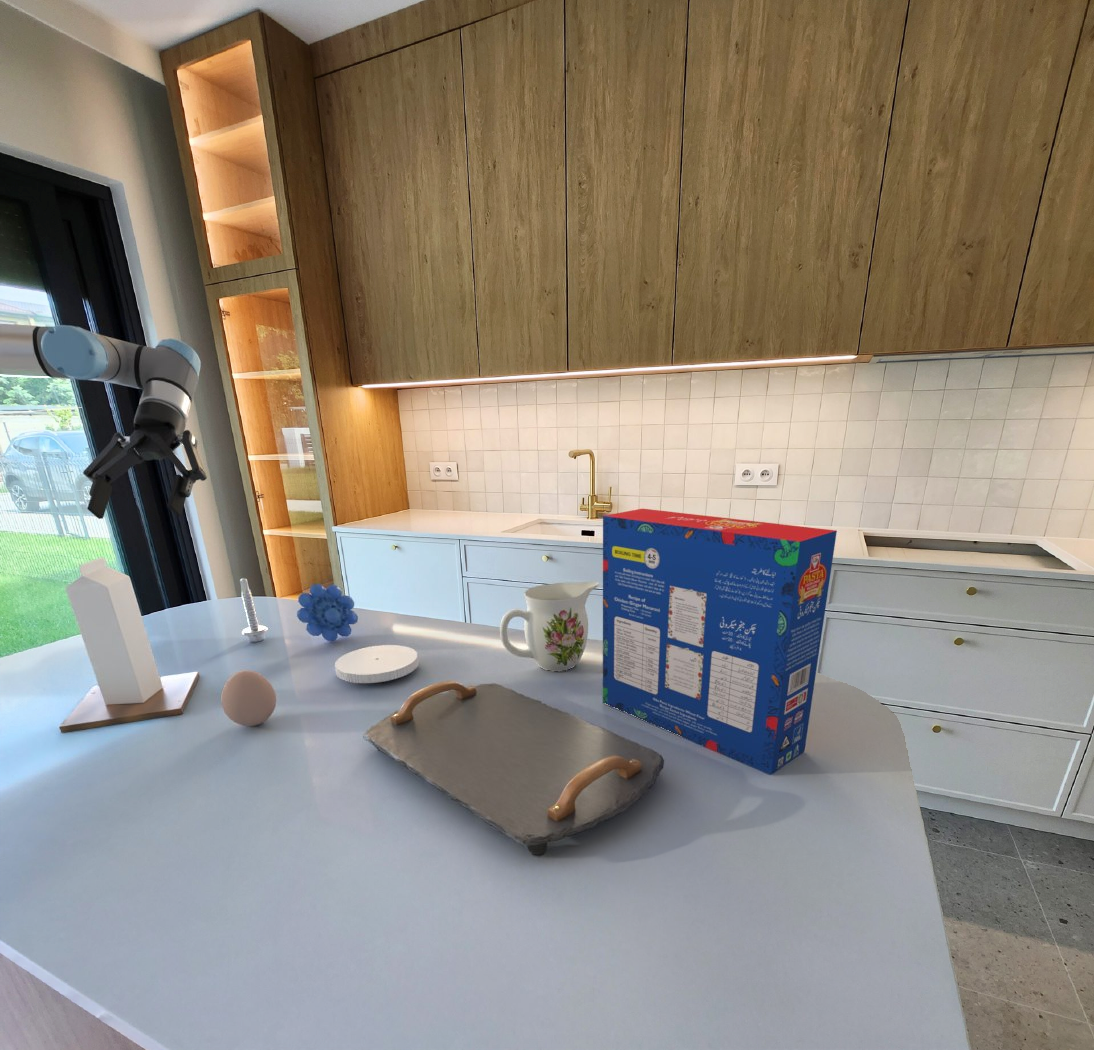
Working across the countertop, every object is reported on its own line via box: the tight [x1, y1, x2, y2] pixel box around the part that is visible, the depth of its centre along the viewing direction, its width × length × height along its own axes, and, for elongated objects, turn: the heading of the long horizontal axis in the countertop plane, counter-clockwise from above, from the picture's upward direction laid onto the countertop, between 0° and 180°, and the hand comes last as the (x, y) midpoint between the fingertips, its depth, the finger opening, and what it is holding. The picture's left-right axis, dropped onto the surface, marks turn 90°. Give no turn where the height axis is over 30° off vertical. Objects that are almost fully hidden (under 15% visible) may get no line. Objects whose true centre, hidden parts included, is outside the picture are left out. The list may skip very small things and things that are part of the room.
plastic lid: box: [334, 644, 420, 684], centre depth 108 cm, size 14×14×2 cm
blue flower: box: [296, 583, 359, 642], centre depth 122 cm, size 12×7×12 cm, turn 128°
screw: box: [239, 577, 269, 643], centre depth 124 cm, size 13×5×5 cm
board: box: [59, 670, 200, 734], centre depth 100 cm, size 16×16×1 cm
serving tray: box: [362, 680, 665, 857], centre depth 78 cm, size 39×23×6 cm, turn 44°
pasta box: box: [602, 508, 838, 776], centre depth 81 cm, size 28×8×28 cm, turn 41°
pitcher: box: [499, 581, 600, 672], centre depth 106 cm, size 11×18×14 cm, turn 110°
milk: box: [64, 556, 163, 705], centre depth 96 cm, size 6×6×22 cm
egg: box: [220, 669, 277, 727], centre depth 90 cm, size 7×7×8 cm
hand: (134, 512), depth 104 cm, fingers open, 13 cm apart
